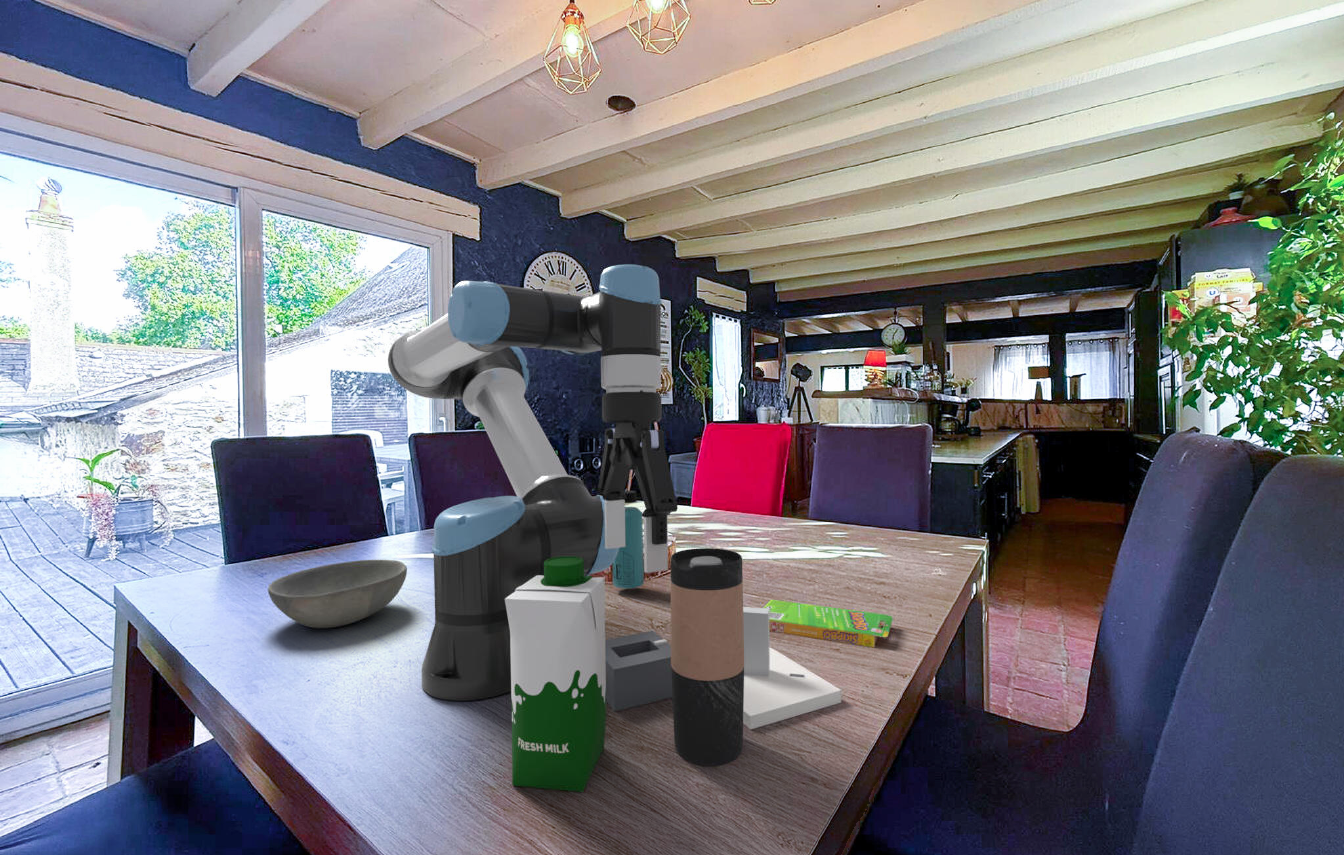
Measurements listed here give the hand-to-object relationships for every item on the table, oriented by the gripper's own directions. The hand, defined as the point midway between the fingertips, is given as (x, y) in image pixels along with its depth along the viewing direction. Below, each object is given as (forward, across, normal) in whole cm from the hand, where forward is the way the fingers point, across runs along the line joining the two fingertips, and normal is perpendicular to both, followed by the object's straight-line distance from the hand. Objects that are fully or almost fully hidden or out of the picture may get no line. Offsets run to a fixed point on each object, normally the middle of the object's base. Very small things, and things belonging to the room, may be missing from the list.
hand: (634, 558), depth 73 cm
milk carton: (+17, -12, +13) cm, 24 cm away
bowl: (+17, +47, +36) cm, 62 cm away
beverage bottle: (+17, +38, -14) cm, 44 cm away
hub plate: (+16, -6, -14) cm, 22 cm away
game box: (+17, +5, -35) cm, 39 cm away
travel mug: (+17, -16, -2) cm, 23 cm away
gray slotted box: (+16, 0, 0) cm, 17 cm away
